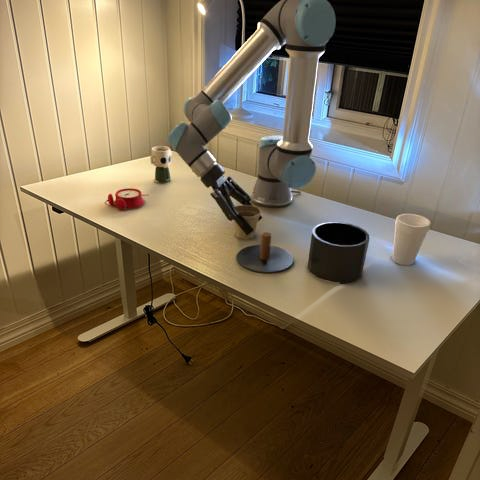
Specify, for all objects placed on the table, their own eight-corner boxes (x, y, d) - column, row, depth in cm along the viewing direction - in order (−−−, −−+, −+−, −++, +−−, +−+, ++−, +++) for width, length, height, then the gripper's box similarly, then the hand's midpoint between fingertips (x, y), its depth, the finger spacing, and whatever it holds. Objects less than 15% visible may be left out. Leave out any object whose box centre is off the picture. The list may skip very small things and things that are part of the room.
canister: (325, 252, 149) (331, 217, 142) (371, 269, 141) (379, 233, 134) (296, 270, 139) (300, 233, 132) (344, 290, 131) (351, 252, 124)
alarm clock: (151, 193, 173) (116, 194, 163) (149, 210, 176) (114, 212, 165) (134, 185, 179) (99, 186, 168) (132, 202, 182) (97, 204, 171)
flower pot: (257, 244, 152) (258, 218, 147) (227, 240, 153) (228, 214, 148) (261, 231, 159) (263, 206, 154) (234, 228, 161) (234, 203, 156)
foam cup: (401, 270, 141) (412, 229, 134) (380, 256, 148) (389, 216, 140) (425, 263, 145) (437, 223, 137) (404, 250, 152) (414, 211, 144)
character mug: (158, 187, 189) (156, 153, 182) (146, 182, 193) (144, 149, 185) (178, 180, 196) (177, 147, 189) (167, 176, 200) (165, 143, 192)
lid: (260, 243, 152) (261, 217, 147) (303, 260, 144) (307, 234, 139) (224, 261, 142) (224, 234, 137) (269, 281, 133) (271, 253, 128)
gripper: (212, 167, 158) (256, 219, 164) (186, 189, 141) (236, 247, 147) (228, 152, 154) (272, 207, 160) (203, 174, 137) (253, 234, 143)
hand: (255, 226), depth 153 cm, fingers closed on flower pot, 9 cm apart
